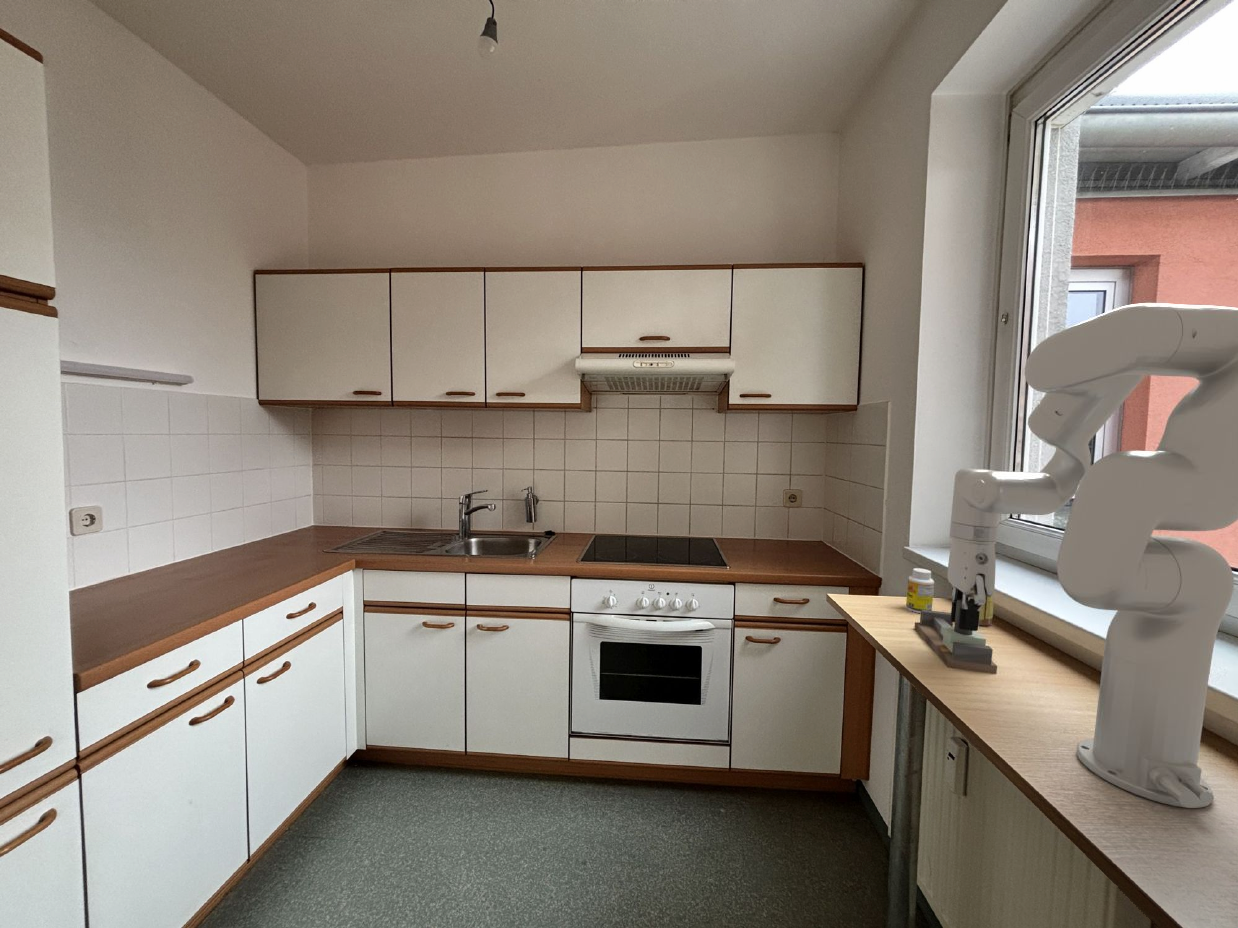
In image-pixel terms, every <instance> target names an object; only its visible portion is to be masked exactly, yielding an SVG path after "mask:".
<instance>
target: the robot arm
mask: <svg viewBox="0 0 1238 928" xmlns="http://www.w3.org/2000/svg"><path fill="white" fill-rule="evenodd" d="M1145 376H1159V377H1184V378H1187V377H1188V378H1193V379H1196V380H1197V381H1198V384H1197V385H1196V386H1195V387H1193V388H1192V389H1191V390H1189V392H1187V393H1186V394H1185V395H1184V396H1183V397H1182V398H1181V399H1180V401H1178V403H1177V404H1176V405H1175V407H1174V408H1173V410H1172V411H1171V412H1170V414H1169V416H1168V417H1167V420H1166V424H1165V428H1164V432H1163V434H1162V436H1161V439H1160V442H1159V444H1158V446H1157V447H1156V449H1155V450H1153V451H1152V450H1150V451H1149V450H1147V451H1146V450H1125V451H1117V452H1114V453H1113V452H1112V453H1110V454H1107V455H1105V456H1103V457H1101V458H1100V459H1098V460H1097V461H1095V462H1094V463H1093V464H1091V461H1092V455H1091V451H1090V446H1089V443H1090V441H1091V440H1092V439H1093V438H1094V436H1095V435H1096V434H1097V433H1098V432H1099V431H1100V430H1101V428H1102V427H1103V426H1104V425H1105V424H1106V423H1107V421H1108V420H1109V419H1110V418H1111V417H1112V416H1113V414H1114V413H1115V412H1116V411H1117V410H1118V409H1119V408H1120V407H1121V405H1122V404H1123V403H1124V402H1125V400H1126V399H1127V398H1129V396H1130V395H1131V394H1132V393H1133V391H1134V390H1135V388H1137V387H1138V385H1139V384H1140V383H1141V382H1142V380H1144V378H1145ZM1024 378H1025V381H1026V383H1027V385H1028V386H1030V388H1031V389H1033V390H1035V391H1037V392H1041V393H1045V395H1044V396H1043V397H1042V398H1041V400H1040V401H1039V403H1037V405H1036V407H1034V409H1033V410H1032V412H1031V413H1030V415H1029V416H1028V418H1027V425H1028V428H1029V429H1030V431H1031V432H1032V434H1033V435H1035V437H1037V438H1038V439H1039V440H1041V441H1042V442H1044V443H1045V444H1047V445H1049V446H1050V447H1052V448H1055V451H1054V454H1053V456H1052V457H1051V459H1050V460H1049V461H1048V462H1047V463H1046V465H1045V466H1044V467H1043V468H1042V469H1041V470H1040V471H1039V472H1034V471H1033V472H1031V471H1030V472H1029V471H1002V470H1001V471H1000V470H993V469H985V468H974V467H973V468H968V467H967V468H964V467H963V468H959V469H958V470H957V472H956V473H955V474H954V476H955V477H954V481H953V483H954V484H953V485H954V486H953V495H952V504H951V515H950V516H951V517H950V526H949V537H948V538H949V539H951V545H950V551H949V557H948V563H947V564H948V565H947V580H948V582H949V583H950V584H951V586H952V588H951V591H952V594H951V610H950V613H951V621H952V622H953V623H955V615H956V604H957V600H963V601H962V608H960V612H959V622H958V627H959V628H960V629H962V630H971V631H977V632H978V630H979V625H978V624H979V614H980V611H981V605H983V604H985V603H986V598H985V595H986V596H988V597H992V596H993V595H994V596H995V588H996V587H995V585H996V548H995V545H996V544H997V536H998V525H999V517H1000V516H999V515H1000V514H1002V515H1030V516H1046V515H1050V514H1052V513H1055V512H1057V511H1059V510H1061V509H1062V508H1063V507H1064V506H1065V505H1066V504H1067V503H1069V501H1070V500H1071V499H1073V501H1072V505H1071V507H1070V512H1069V515H1068V517H1067V521H1066V525H1065V528H1064V532H1063V535H1062V539H1061V541H1060V542H1061V543H1060V545H1059V546H1060V547H1059V550H1058V553H1057V559H1056V561H1057V562H1056V572H1057V578H1058V581H1059V583H1060V587H1062V589H1063V591H1064V592H1065V593H1066V595H1068V597H1069V598H1071V599H1072V600H1073V601H1075V602H1076V603H1078V604H1080V605H1082V606H1084V607H1087V608H1091V609H1095V610H1096V609H1097V610H1104V611H1116V613H1115V614H1114V616H1113V617H1112V619H1111V621H1110V624H1109V625H1108V628H1107V632H1106V635H1105V641H1104V642H1105V644H1104V649H1103V650H1104V651H1103V657H1102V664H1101V665H1102V667H1101V675H1100V684H1099V691H1098V701H1097V702H1098V703H1097V709H1096V717H1095V727H1094V734H1093V738H1086V739H1083V740H1080V741H1079V742H1078V743H1077V745H1076V746H1077V747H1076V755H1077V757H1078V760H1080V761H1081V763H1082V764H1083V765H1084V766H1085V767H1086V768H1087V769H1089V770H1090V771H1091V772H1092V773H1094V774H1095V775H1097V776H1098V777H1101V778H1102V779H1104V780H1105V781H1106V782H1108V783H1111V784H1112V785H1115V786H1116V787H1119V788H1121V789H1123V790H1125V791H1127V792H1130V793H1132V794H1134V795H1136V796H1139V797H1143V798H1145V799H1148V800H1151V801H1155V802H1158V803H1160V804H1166V805H1169V806H1173V807H1178V808H1179V807H1180V808H1187V809H1199V808H1204V807H1207V806H1209V805H1210V804H1211V803H1213V802H1214V800H1215V798H1214V797H1215V796H1214V795H1213V789H1212V788H1211V786H1210V785H1209V784H1208V783H1207V782H1206V781H1205V780H1204V779H1203V778H1202V768H1201V767H1199V766H1198V760H1199V759H1198V758H1199V752H1200V745H1201V738H1202V731H1203V723H1204V715H1205V708H1206V699H1207V694H1208V685H1209V677H1210V672H1211V666H1212V660H1213V653H1214V647H1215V642H1216V638H1217V634H1218V631H1219V629H1220V628H1219V627H1220V625H1221V622H1222V620H1223V618H1224V616H1225V614H1226V611H1227V609H1228V607H1229V605H1230V603H1231V599H1232V597H1233V594H1234V590H1235V589H1234V588H1235V587H1234V585H1235V577H1234V573H1233V570H1232V568H1231V566H1230V564H1229V562H1228V561H1227V559H1226V558H1225V557H1224V556H1223V555H1222V554H1221V553H1220V552H1218V550H1216V549H1214V547H1211V546H1209V545H1207V544H1205V543H1203V542H1201V541H1198V540H1194V539H1191V538H1185V537H1181V536H1173V535H1162V534H1161V535H1157V534H1155V535H1154V534H1153V533H1154V531H1173V532H1174V531H1175V532H1210V531H1217V530H1223V529H1226V528H1228V527H1229V526H1231V525H1233V524H1234V523H1235V522H1237V521H1238V307H1231V306H1230V307H1229V306H1217V305H1197V304H1196V305H1195V304H1178V303H1177V304H1175V303H1161V302H1160V303H1159V302H1157V303H1156V302H1145V303H1134V304H1133V303H1132V304H1127V305H1124V306H1121V307H1117V308H1115V309H1112V310H1109V311H1106V312H1104V313H1102V314H1100V315H1097V316H1095V317H1092V318H1088V319H1087V320H1084V321H1082V322H1080V323H1077V324H1074V325H1072V326H1069V327H1066V328H1064V329H1061V330H1060V331H1057V332H1055V333H1053V334H1052V335H1051V334H1050V336H1048V337H1046V338H1044V339H1043V340H1042V341H1041V342H1040V343H1038V344H1037V345H1036V347H1035V348H1033V350H1031V352H1030V354H1029V355H1028V357H1027V359H1026V361H1025V366H1024ZM1073 497H1074V498H1073ZM971 591H975V593H971ZM970 597H974V598H973V599H972V598H970Z"/></svg>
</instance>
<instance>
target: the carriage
mask: <svg viewBox="0 0 1238 928" xmlns="http://www.w3.org/2000/svg"><path fill="white" fill-rule="evenodd" d="M962 601H963V600H957V604H956V615H955V622H954V625H953V627H949V626H941V634H942V635H943V644H944V645H945V646H946V647H947V648H948V649H949V650H950V651H951V652H952V650H953V642H959V643H967V644H976V645H984V646H987V645H986V643H987V639H986V637H984V636H983V635H982V634H981V633H980V632H978V630H977V631H971V630H962V629H960V628H959V627H958V622H959V612H960V608H962Z"/></svg>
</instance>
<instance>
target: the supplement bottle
mask: <svg viewBox="0 0 1238 928" xmlns="http://www.w3.org/2000/svg"><path fill="white" fill-rule="evenodd" d="M934 589H935V581H934V579H933V578H932V571H931V570H929V569H926V568H919V567H915V568H913V569H912V575H909V576H908V578H907V593H906V600H905V601H906V603H905V607H906V609H907V610H908V609H909V610H908V611H910V612H912V611H913V612H912V613H915V612H916V613H915V614H920V613H921V610H930V611H933V602H934V601H933V599H934V592H935V591H934Z"/></svg>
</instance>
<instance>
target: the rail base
mask: <svg viewBox="0 0 1238 928" xmlns="http://www.w3.org/2000/svg"><path fill="white" fill-rule="evenodd" d="M953 624H954V622H952V621H951V612H948V611H947V612H945V611H937V610H932V611H930V610H921V614H920V618H919V622H918V621H916V622H915V621H914V630H915V631H916V632H917V634H919V636H920V637H921V638H922V640H923V641H925V643H926V644H928V645H927V646H929V647H930V648H931V649H932V651H933V652H934V653H935V654H936V655H937V656H938V658H939V659H940V660H941V661H942V662H943V663H944V664H945V666H947V668H950V669H956V670H966V671H972V672H974V671H975V672H980V673H985V674H986V673H989V674H997V673H998V672H997V670H998V665H997V664H996V663H995V662H994V661H992V658H993V648H992V647H991V646H990V645H986V646H984V645H976V644H967V643H959V642H953V650H952V652H951V651H950V650H949V649H948V648H947V647H946V646H945V645H944V644H943V635H942V634H941V626H949V627H954V625H953Z"/></svg>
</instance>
